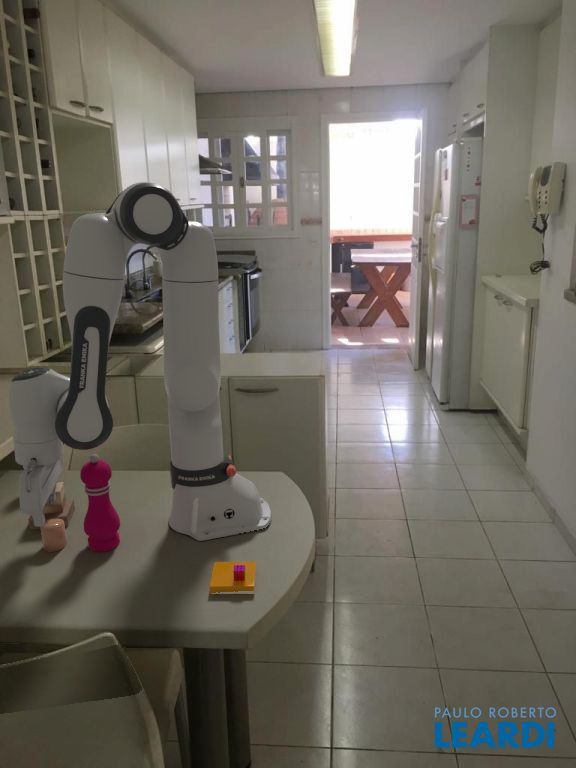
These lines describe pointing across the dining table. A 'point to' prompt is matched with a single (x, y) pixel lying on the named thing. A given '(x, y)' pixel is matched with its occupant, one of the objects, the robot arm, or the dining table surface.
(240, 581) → the orange square tile
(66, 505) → the slab
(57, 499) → the cube
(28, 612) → the dining table surface
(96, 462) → the pepper mill
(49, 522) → the tan capsule
